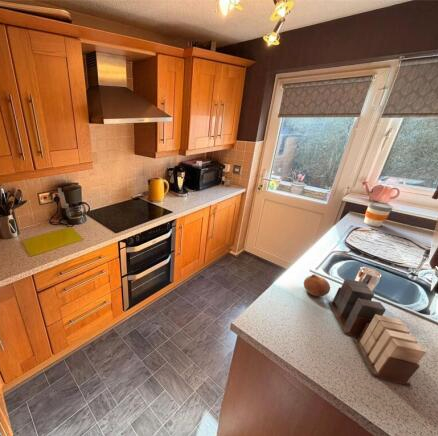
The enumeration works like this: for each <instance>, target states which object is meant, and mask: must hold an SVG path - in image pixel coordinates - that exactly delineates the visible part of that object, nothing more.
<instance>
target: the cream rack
mask: <svg viewBox="0 0 438 436" xmlns="http://www.w3.org/2000/svg"><path fill="white" fill-rule="evenodd" d="M386 329H387V330H392V331H396V332H401V333H405V334H410V335H411V331H410V330H409V329H408V327H407V326H406V325H405V323H403V321H402V320H401V319H400V318H397V317H390V316H387V315H382V316H381V315H376V314H375V316H374V317H373V319H372V321H371V323H370V324H369V323H367V324H366V326H365V328H364V330H363V331H362V333H361V335H360V337H357V338H356V337H355V338H353V342H354V344H355V345H356V347H357V349H358V351H359V353H360V354H361V357H362V358H363V360H364V362H365V364H366V366H367V368H368V370H369V371H370V374H371V375H372V377H376V378H380V379H383V380H386V381H391V382H394V383H397V384H401V385H405V386H411V384H412V383H411V382H410V380H411V378H412V377H413V375H414V374H415V373H416V372H417V371H418V369H419V368H420V367H421V365H420V361H421V360H422V359H423V358H424V356H425V355H426V354H427V351H426V350H425V348H424V347H423V345H421V344H419V343H417V344H415V343H410V342H406V341H401V340H397V339H392V340H391V342H390V343H389V345H388V346H387V348H386V349H385V351H384V352H383V354H382V355H381V357H380V358H379V360H378V361H377V363H376V364H374V363H372V362H371V360H370V358H369V355H370V353H371V352H372V350H373V349H374V347H375V345H376V344H377V342H378V341H379V339H380V338H381V336H382V334H383V333H384V331H385V330H386Z"/></svg>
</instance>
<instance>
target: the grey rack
mask: <svg viewBox="0 0 438 436" xmlns="http://www.w3.org/2000/svg"><path fill="white" fill-rule="evenodd" d="M354 280H355V279H354ZM354 280H353V279H347V278H344V281H343V283H342V285H341V286H340V287H338V288H337V291H336V293H335V296H334V297H333V299H332V301H328V304H329V306H330V308H331V310H332V312H333V313H334V315H335V318H336V319H337V321H338V323H339V325H340V327H341V329H342V331H343V333H344V334H345V335H349V336H353V337H355V338H356V337H357V338H359V337H360V335H361V333H362V331H363V330H364V328H365V326H366V324H367V323H369V324H370V323H371V321H372V319H373V317H374V316H375V314H376V315H381V316H384V314H385V312H386V310H387V309H386V308H385V306H384V305H383V304H382V303H381V302H379V301H373V298H374V296H375V294H374V292H373V291H371V290H370V289H369V287H368V286H367V285H366V284H365V282H359V281H354Z"/></svg>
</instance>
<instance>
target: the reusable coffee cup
mask: <svg viewBox="0 0 438 436" xmlns="http://www.w3.org/2000/svg"><path fill="white" fill-rule="evenodd" d="M392 211H393V205H391V204H389V203H385V202H380V201H370V202H369V203H368V204H367V209H366V211H365V215H364V216H365V217H364V221H363V223H365V224H366V225H368V226H372V227H381V226H382V224H383V223H384V222H385V221H386V220H387V218H388V217H389V216H390V213H391V212H392Z"/></svg>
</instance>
